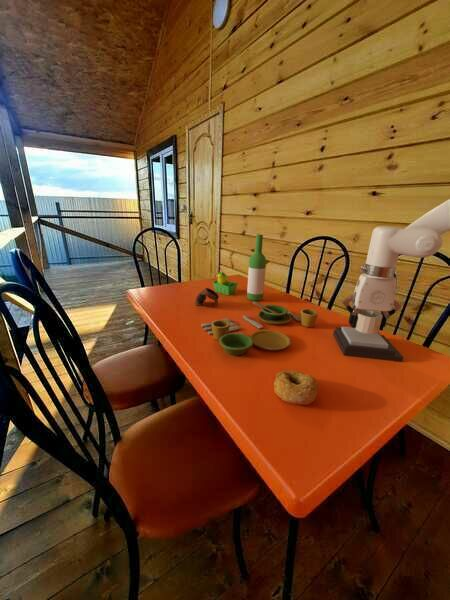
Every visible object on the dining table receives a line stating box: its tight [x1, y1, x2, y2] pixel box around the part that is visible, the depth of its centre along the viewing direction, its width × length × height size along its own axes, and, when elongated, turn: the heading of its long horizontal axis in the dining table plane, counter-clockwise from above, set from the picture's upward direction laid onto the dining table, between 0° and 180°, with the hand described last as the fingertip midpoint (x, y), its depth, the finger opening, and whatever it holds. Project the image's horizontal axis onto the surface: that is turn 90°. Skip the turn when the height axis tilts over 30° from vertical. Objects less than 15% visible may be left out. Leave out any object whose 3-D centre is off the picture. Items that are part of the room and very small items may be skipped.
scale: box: [332, 326, 404, 363], centre depth 80 cm, size 16×14×3 cm
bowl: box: [354, 310, 383, 334], centre depth 78 cm, size 7×7×6 cm
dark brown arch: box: [194, 287, 220, 307], centre depth 111 cm, size 12×9×8 cm
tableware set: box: [200, 301, 319, 357], centre depth 88 cm, size 41×28×6 cm
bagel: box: [273, 370, 320, 406], centre depth 58 cm, size 10×11×5 cm
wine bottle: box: [246, 233, 267, 302], centre depth 117 cm, size 8×8×30 cm
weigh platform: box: [341, 326, 389, 349], centre depth 80 cm, size 10×10×2 cm
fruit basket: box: [212, 271, 239, 296], centre depth 128 cm, size 11×9×11 cm
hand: (365, 326), depth 79 cm, fingers closed on bowl, 7 cm apart
